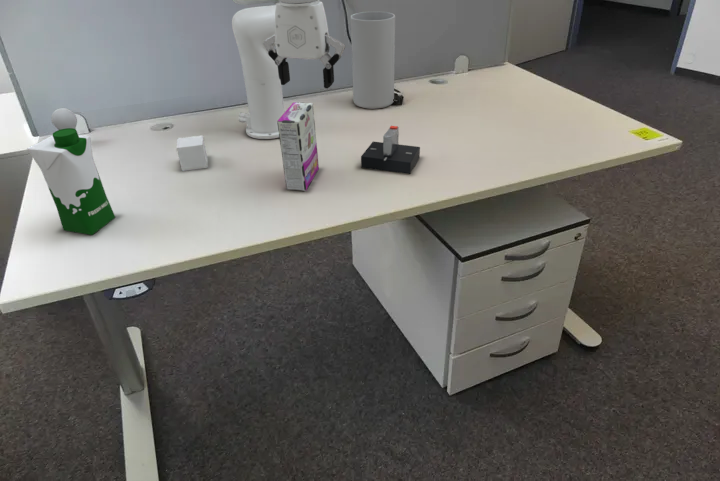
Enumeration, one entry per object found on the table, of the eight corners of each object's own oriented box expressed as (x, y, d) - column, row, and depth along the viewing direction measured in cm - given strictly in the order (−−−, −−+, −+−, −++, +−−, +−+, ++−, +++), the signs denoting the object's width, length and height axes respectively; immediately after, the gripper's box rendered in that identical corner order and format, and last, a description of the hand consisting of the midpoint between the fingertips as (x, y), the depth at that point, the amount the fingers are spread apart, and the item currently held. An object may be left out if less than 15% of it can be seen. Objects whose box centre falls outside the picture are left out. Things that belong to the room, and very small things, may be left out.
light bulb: (89, 144, 140) (76, 108, 134) (66, 151, 137) (53, 114, 131) (79, 138, 143) (67, 103, 138) (57, 145, 140) (44, 109, 134)
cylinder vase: (374, 93, 168) (373, 9, 154) (402, 102, 160) (404, 15, 146) (345, 102, 161) (341, 16, 147) (373, 112, 153) (372, 22, 139)
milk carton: (93, 238, 102) (56, 143, 90) (55, 232, 104) (15, 138, 93) (122, 215, 109) (91, 124, 97) (86, 210, 111) (52, 120, 100)
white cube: (207, 167, 126) (202, 144, 123) (182, 171, 125) (176, 148, 122) (207, 157, 131) (202, 135, 128) (182, 160, 130) (177, 138, 127)
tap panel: (360, 168, 123) (360, 156, 122) (373, 151, 131) (373, 139, 130) (409, 175, 120) (409, 163, 118) (420, 157, 128) (420, 145, 126)
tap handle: (391, 157, 121) (391, 135, 118) (383, 156, 122) (383, 134, 119) (398, 146, 126) (398, 126, 123) (390, 145, 127) (390, 125, 124)
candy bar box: (299, 168, 125) (292, 101, 115) (319, 169, 124) (314, 102, 115) (284, 190, 116) (275, 119, 106) (306, 192, 115) (299, 121, 106)
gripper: (248, -3, 98) (261, 87, 108) (334, -1, 93) (339, 93, 103) (267, -10, 104) (277, 76, 114) (348, -8, 99) (352, 82, 109)
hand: (306, 84), depth 108 cm, fingers open, 9 cm apart
